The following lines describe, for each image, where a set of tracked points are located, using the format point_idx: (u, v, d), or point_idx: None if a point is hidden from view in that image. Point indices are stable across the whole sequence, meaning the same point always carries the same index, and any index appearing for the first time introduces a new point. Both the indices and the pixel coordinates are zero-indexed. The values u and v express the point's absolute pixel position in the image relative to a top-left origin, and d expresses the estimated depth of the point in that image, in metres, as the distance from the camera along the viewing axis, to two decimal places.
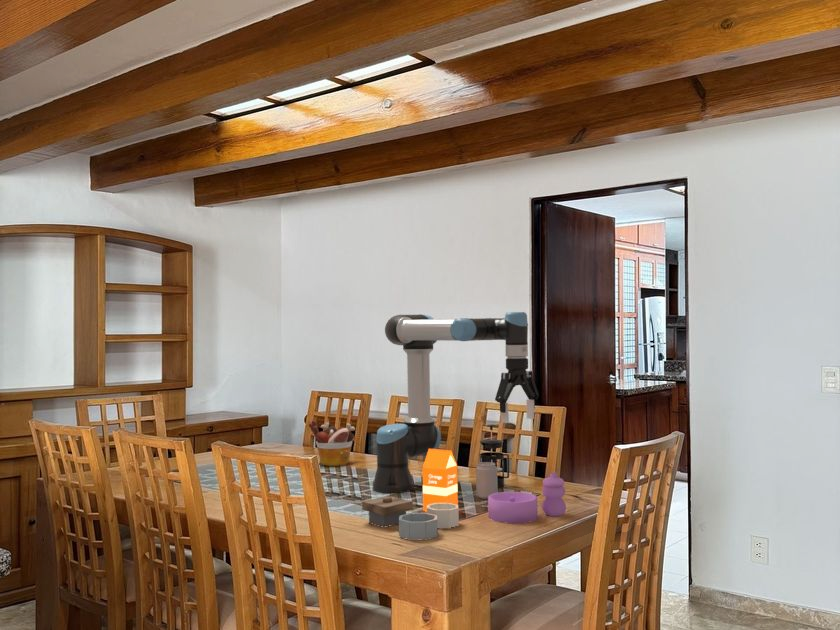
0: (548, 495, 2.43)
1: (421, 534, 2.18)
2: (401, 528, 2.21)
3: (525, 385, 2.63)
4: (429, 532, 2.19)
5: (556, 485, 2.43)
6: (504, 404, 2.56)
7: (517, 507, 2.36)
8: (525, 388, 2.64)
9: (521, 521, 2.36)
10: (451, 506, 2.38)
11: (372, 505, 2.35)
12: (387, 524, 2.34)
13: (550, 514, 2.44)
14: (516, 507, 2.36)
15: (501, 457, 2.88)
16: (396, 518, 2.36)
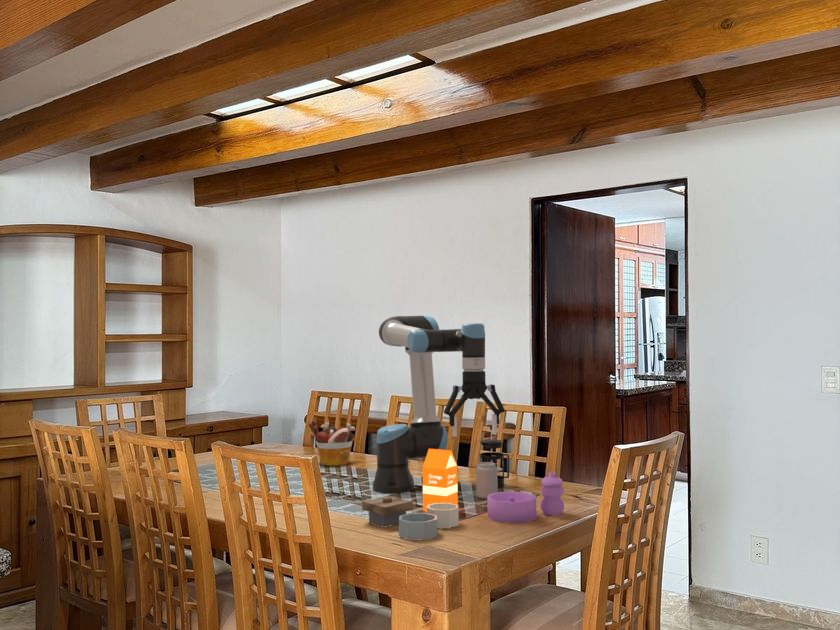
0: (547, 495, 2.44)
1: (421, 534, 2.18)
2: (401, 528, 2.21)
3: (484, 399, 2.54)
4: (429, 532, 2.19)
5: (554, 484, 2.44)
6: (452, 417, 2.51)
7: (517, 507, 2.36)
8: (486, 402, 2.55)
9: (521, 521, 2.36)
10: (451, 506, 2.38)
11: (372, 505, 2.35)
12: (387, 524, 2.34)
13: (549, 513, 2.44)
14: (516, 507, 2.36)
15: (501, 457, 2.88)
16: (396, 518, 2.36)
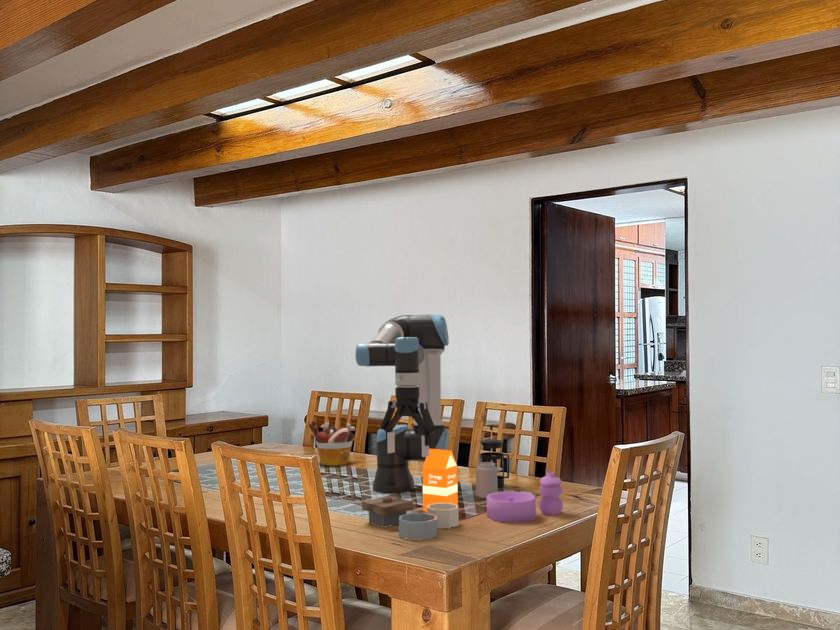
0: (546, 494, 2.45)
1: (421, 534, 2.18)
2: (401, 528, 2.21)
3: None
4: (429, 532, 2.19)
5: (553, 484, 2.44)
6: None
7: (517, 507, 2.36)
8: None
9: (521, 520, 2.37)
10: (451, 506, 2.38)
11: (372, 505, 2.35)
12: (387, 524, 2.34)
13: (548, 513, 2.45)
14: (516, 507, 2.36)
15: (501, 457, 2.88)
16: (396, 518, 2.36)
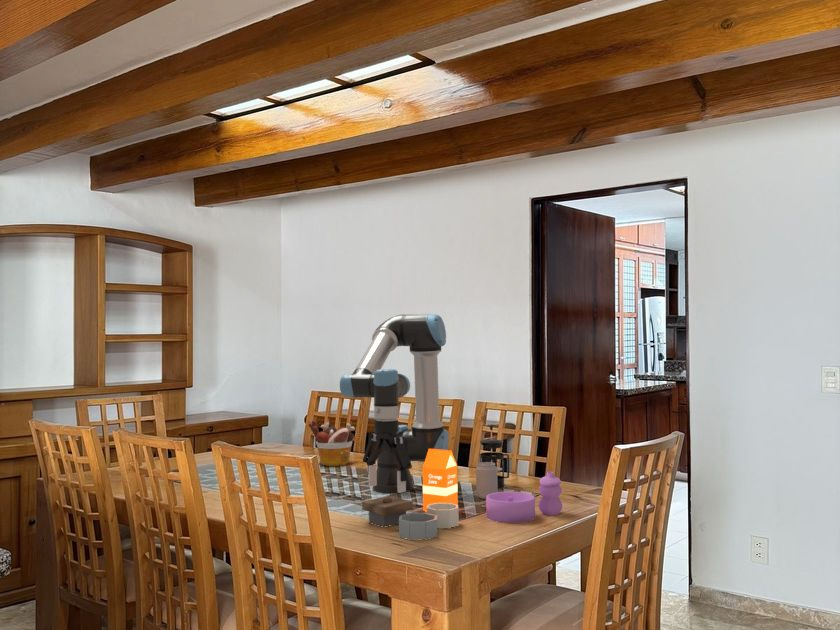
0: (545, 494, 2.45)
1: (421, 534, 2.18)
2: (401, 528, 2.21)
3: None
4: (429, 532, 2.19)
5: (553, 484, 2.44)
6: None
7: (516, 507, 2.36)
8: None
9: (520, 521, 2.36)
10: (451, 506, 2.38)
11: (372, 505, 2.35)
12: (387, 524, 2.34)
13: (547, 513, 2.45)
14: (515, 507, 2.36)
15: (501, 457, 2.88)
16: (396, 518, 2.36)
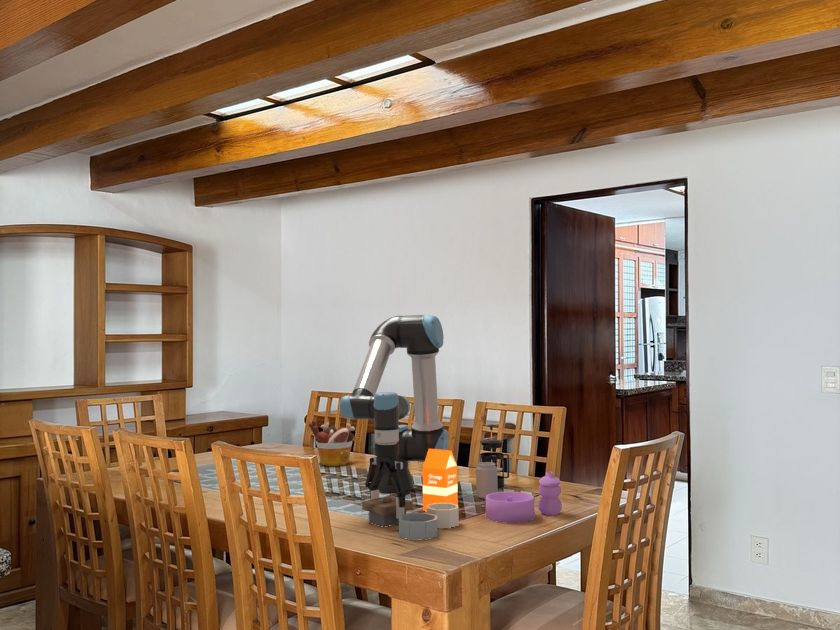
0: (545, 494, 2.45)
1: (421, 534, 2.18)
2: (401, 528, 2.21)
3: None
4: (429, 532, 2.19)
5: (552, 484, 2.44)
6: None
7: (516, 507, 2.36)
8: None
9: (520, 521, 2.36)
10: (451, 506, 2.38)
11: (372, 505, 2.35)
12: (387, 524, 2.34)
13: (547, 513, 2.45)
14: (515, 507, 2.36)
15: (501, 457, 2.88)
16: (396, 518, 2.36)
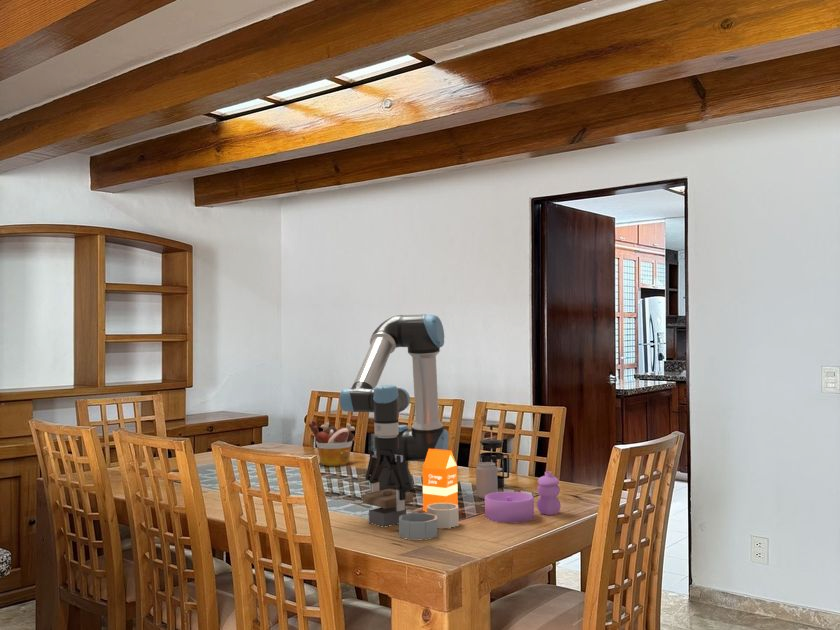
0: (544, 494, 2.45)
1: (421, 534, 2.18)
2: (401, 528, 2.21)
3: None
4: (429, 532, 2.19)
5: (551, 484, 2.45)
6: None
7: (516, 507, 2.36)
8: None
9: (520, 520, 2.37)
10: (451, 506, 2.38)
11: (372, 498, 2.35)
12: (387, 524, 2.34)
13: (546, 513, 2.45)
14: (515, 507, 2.36)
15: (501, 457, 2.88)
16: (396, 518, 2.36)
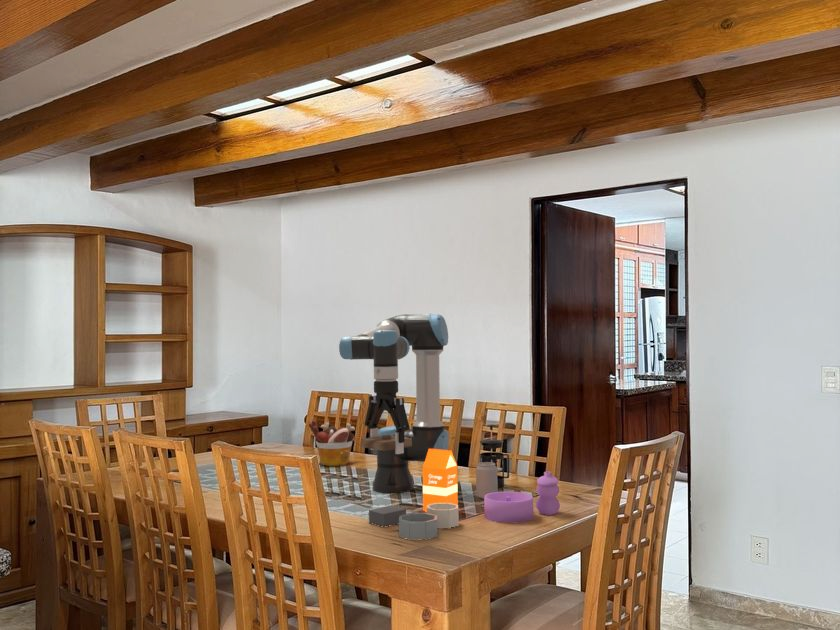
0: (543, 494, 2.45)
1: (421, 534, 2.18)
2: (401, 528, 2.21)
3: None
4: (429, 532, 2.19)
5: (551, 484, 2.45)
6: None
7: (515, 507, 2.36)
8: None
9: (519, 520, 2.37)
10: (451, 506, 2.38)
11: (371, 441, 2.35)
12: (387, 524, 2.34)
13: (545, 513, 2.45)
14: (514, 507, 2.36)
15: (501, 457, 2.88)
16: (396, 518, 2.36)
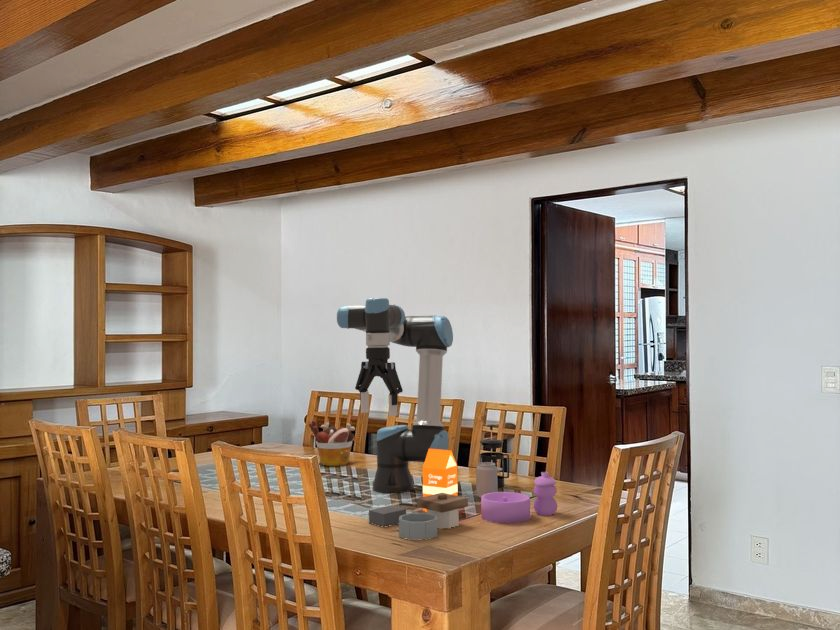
0: (540, 494, 2.44)
1: (421, 534, 2.18)
2: (401, 528, 2.21)
3: None
4: (429, 532, 2.19)
5: (548, 484, 2.44)
6: (361, 393, 2.50)
7: (512, 507, 2.36)
8: None
9: (516, 521, 2.36)
10: None
11: (427, 502, 2.32)
12: (387, 524, 2.34)
13: (542, 513, 2.45)
14: (511, 507, 2.36)
15: (501, 457, 2.88)
16: (396, 518, 2.36)
